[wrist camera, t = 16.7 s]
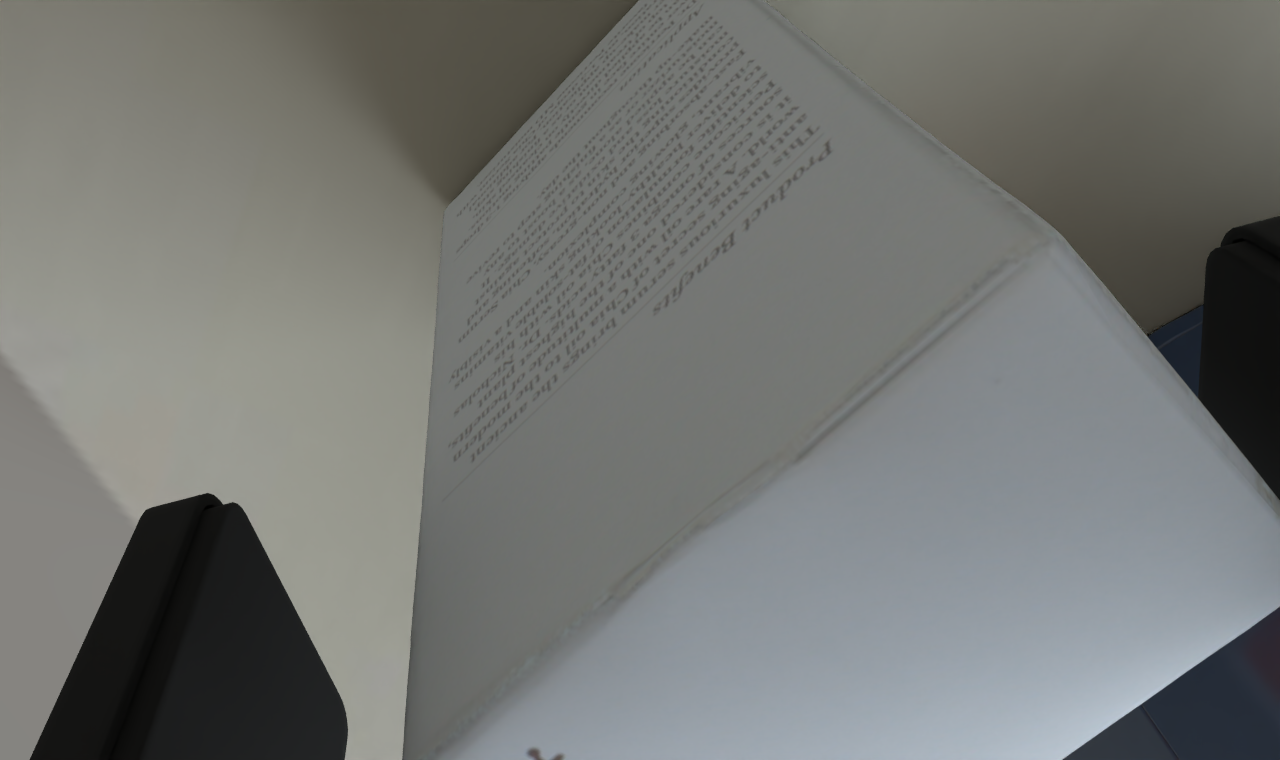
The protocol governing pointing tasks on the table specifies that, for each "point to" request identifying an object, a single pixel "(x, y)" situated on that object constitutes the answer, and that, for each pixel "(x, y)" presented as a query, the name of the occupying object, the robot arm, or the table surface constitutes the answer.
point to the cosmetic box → (795, 438)
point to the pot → (1219, 685)
